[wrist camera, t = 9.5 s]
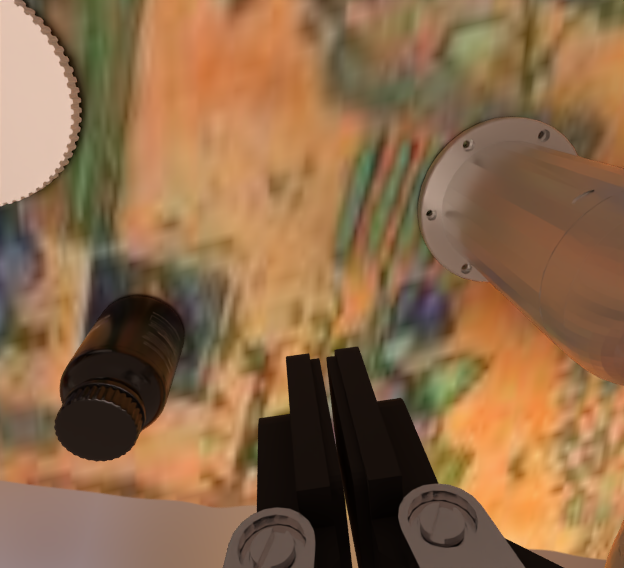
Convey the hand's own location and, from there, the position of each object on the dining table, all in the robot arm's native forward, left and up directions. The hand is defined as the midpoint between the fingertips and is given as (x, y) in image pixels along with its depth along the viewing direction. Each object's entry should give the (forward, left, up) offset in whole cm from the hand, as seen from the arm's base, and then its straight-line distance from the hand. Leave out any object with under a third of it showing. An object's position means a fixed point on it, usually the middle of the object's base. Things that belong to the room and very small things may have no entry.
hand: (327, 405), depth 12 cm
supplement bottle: (+13, +11, -27) cm, 32 cm away
